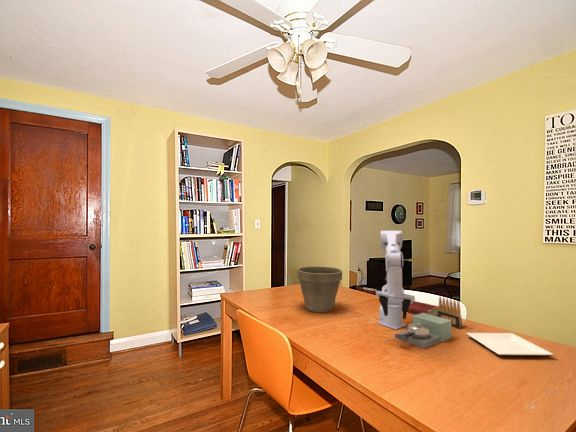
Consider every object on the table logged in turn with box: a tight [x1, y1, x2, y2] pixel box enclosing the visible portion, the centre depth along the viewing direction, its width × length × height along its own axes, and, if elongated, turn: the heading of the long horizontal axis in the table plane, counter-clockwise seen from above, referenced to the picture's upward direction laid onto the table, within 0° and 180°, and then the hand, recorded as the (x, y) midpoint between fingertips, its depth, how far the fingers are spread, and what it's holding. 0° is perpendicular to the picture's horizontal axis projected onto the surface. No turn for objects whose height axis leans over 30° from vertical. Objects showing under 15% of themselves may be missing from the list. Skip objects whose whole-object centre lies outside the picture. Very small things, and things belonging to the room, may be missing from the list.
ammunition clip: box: [437, 296, 463, 330], centre depth 129 cm, size 11×2×12 cm, turn 25°
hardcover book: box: [402, 300, 439, 316], centre depth 150 cm, size 12×21×4 cm, turn 37°
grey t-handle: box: [394, 322, 430, 342], centre depth 109 cm, size 16×8×4 cm, turn 124°
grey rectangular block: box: [398, 313, 453, 350], centre depth 114 cm, size 12×19×7 cm, turn 124°
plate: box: [465, 332, 555, 357], centre depth 105 cm, size 19×19×2 cm
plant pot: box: [296, 266, 343, 313], centre depth 155 cm, size 25×25×22 cm
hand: (395, 316), depth 112 cm, fingers open, 6 cm apart
